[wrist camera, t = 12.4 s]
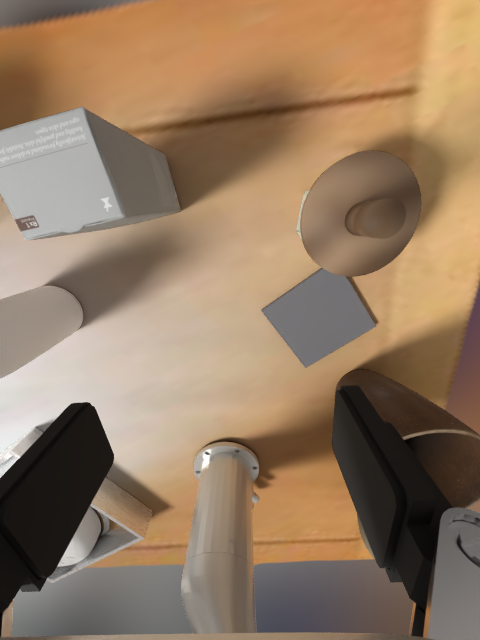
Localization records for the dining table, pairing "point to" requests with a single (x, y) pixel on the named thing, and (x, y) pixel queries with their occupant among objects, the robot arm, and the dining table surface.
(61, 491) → the robot arm
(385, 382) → the plant pot
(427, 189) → the dining table surface
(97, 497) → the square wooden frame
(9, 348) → the milk bottle
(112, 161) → the skincare box
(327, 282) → the mat
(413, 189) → the lid
